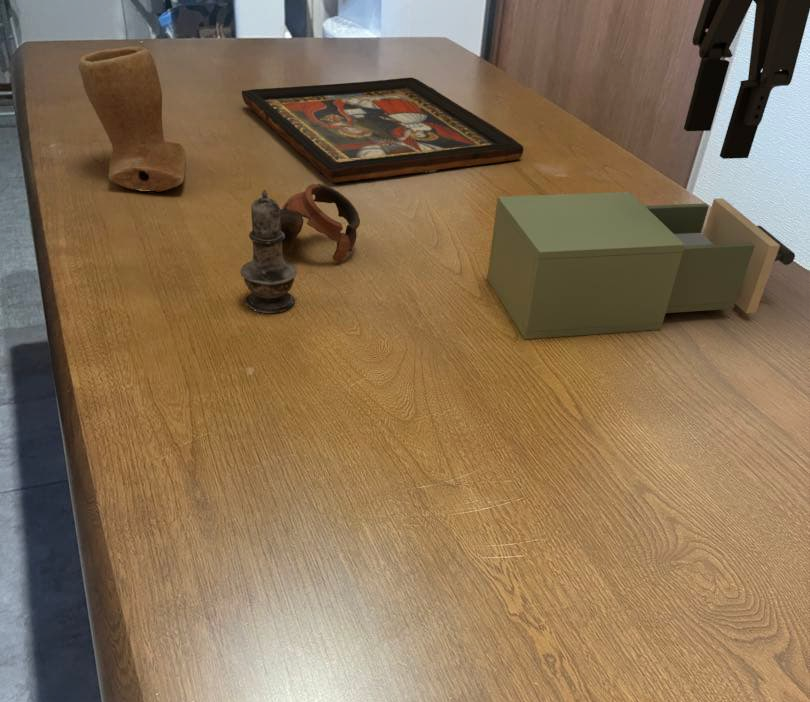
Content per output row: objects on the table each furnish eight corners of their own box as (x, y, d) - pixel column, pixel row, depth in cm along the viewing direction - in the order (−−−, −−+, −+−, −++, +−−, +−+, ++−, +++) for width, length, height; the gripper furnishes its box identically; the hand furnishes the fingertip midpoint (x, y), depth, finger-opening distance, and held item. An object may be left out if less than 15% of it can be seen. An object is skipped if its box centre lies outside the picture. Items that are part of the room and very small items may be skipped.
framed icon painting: (543, 156, 131) (546, 136, 129) (344, 197, 115) (344, 175, 113) (402, 85, 153) (403, 67, 151) (218, 111, 138) (217, 91, 136)
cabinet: (611, 272, 104) (630, 191, 97) (660, 329, 94) (685, 244, 87) (486, 279, 100) (497, 196, 94) (524, 339, 91) (539, 251, 84)
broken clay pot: (301, 228, 109) (334, 175, 103) (346, 284, 107) (382, 233, 102) (231, 232, 100) (263, 174, 94) (279, 293, 98) (314, 238, 93)
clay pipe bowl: (103, 154, 122) (82, 33, 111) (189, 155, 123) (177, 36, 113) (89, 197, 111) (65, 68, 101) (185, 197, 112) (170, 70, 102)
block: (654, 272, 100) (664, 234, 97) (689, 270, 101) (701, 232, 98) (671, 290, 97) (682, 252, 93) (708, 288, 97) (720, 250, 94)
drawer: (737, 260, 106) (758, 196, 100) (792, 310, 97) (818, 243, 92) (591, 268, 102) (606, 202, 97) (635, 321, 93) (653, 251, 88)
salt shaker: (268, 283, 97) (262, 173, 88) (309, 300, 94) (306, 189, 86) (231, 302, 93) (221, 190, 85) (272, 321, 91) (266, 207, 83)
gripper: (700, -159, 79) (639, 111, 94) (825, -130, 65) (729, 182, 80) (774, -155, 80) (702, 110, 96) (911, -126, 66) (801, 179, 82)
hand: (714, 142), depth 88 cm, fingers open, 7 cm apart
